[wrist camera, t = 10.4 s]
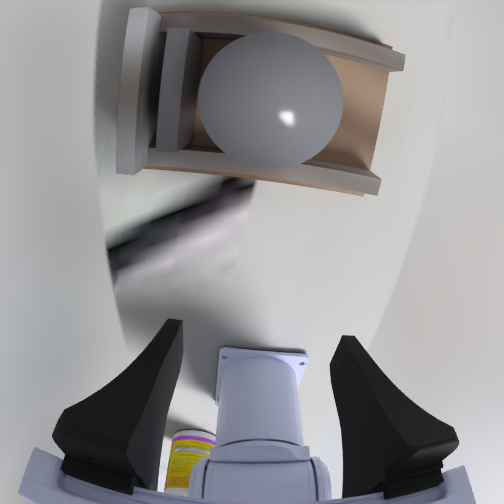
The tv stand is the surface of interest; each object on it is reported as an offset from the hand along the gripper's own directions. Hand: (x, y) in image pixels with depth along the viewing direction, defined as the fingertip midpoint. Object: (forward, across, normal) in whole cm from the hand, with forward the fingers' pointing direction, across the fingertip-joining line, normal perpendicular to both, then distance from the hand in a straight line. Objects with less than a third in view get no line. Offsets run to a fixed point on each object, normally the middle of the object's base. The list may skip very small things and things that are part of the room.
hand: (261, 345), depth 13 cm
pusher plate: (+8, +5, -10) cm, 14 cm away
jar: (+8, +1, -10) cm, 13 cm away
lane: (+9, +1, -10) cm, 14 cm away
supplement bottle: (+10, +4, +30) cm, 32 cm away
